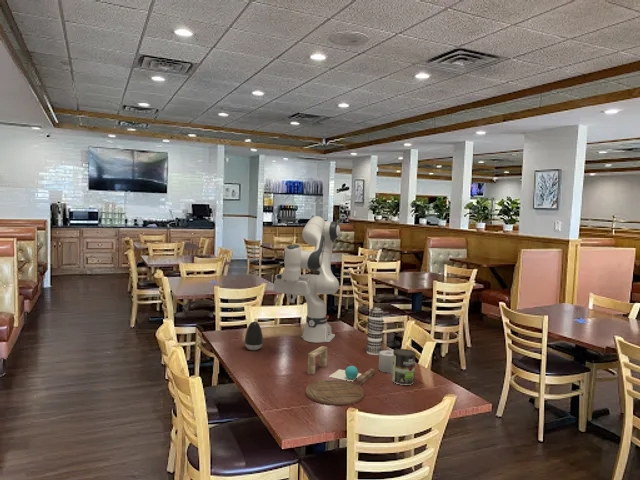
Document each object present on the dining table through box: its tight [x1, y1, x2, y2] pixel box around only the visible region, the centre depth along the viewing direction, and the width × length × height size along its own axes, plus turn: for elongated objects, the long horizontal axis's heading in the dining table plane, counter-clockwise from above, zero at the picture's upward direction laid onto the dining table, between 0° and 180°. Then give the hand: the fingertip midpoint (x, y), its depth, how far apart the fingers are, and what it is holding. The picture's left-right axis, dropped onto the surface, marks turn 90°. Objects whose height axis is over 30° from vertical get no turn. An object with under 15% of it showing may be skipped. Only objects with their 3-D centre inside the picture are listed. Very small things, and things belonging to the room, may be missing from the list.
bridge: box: [306, 345, 329, 376], centre depth 234 cm, size 3×15×10 cm, turn 153°
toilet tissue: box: [378, 349, 394, 374], centre depth 237 cm, size 9×13×9 cm
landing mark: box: [328, 368, 363, 383], centre depth 228 cm, size 12×12×1 cm
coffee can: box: [391, 348, 417, 386], centre depth 222 cm, size 10×10×14 cm
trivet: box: [305, 379, 365, 407], centre depth 205 cm, size 25×25×2 cm
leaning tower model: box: [366, 306, 385, 356], centre depth 265 cm, size 9×9×25 cm
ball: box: [344, 365, 359, 379], centre depth 223 cm, size 6×6×6 cm
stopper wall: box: [355, 368, 375, 387], centre depth 223 cm, size 18×2×2 cm, turn 154°
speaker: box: [243, 321, 264, 351], centre depth 263 cm, size 10×10×15 cm
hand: (291, 302), depth 249 cm, fingers closed
